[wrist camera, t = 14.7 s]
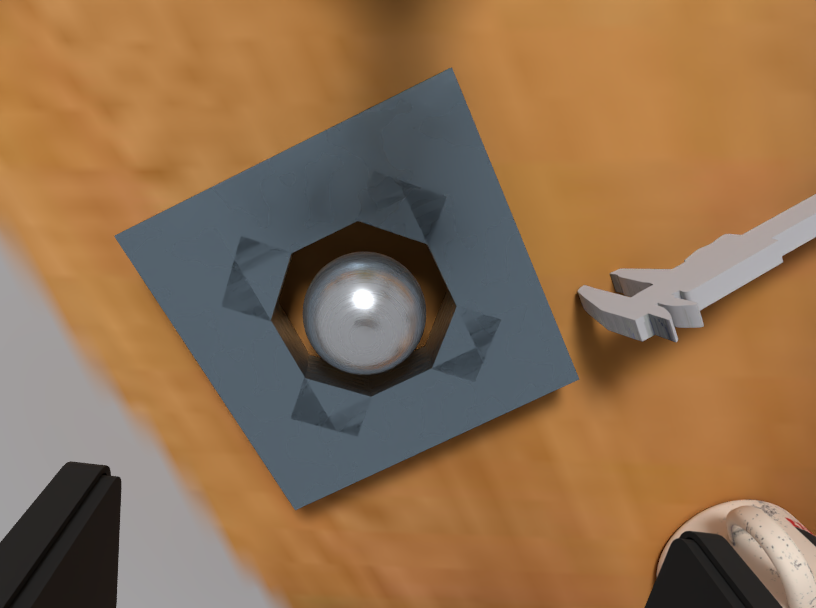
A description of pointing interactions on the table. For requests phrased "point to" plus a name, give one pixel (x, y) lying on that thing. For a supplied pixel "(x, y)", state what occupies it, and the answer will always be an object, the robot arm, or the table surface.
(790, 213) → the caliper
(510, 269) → the housing plate
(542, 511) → the table surface
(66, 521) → the robot arm
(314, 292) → the steel ball
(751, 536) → the teacup with lid
